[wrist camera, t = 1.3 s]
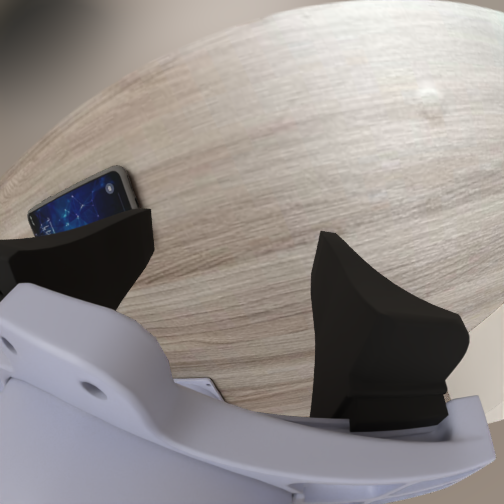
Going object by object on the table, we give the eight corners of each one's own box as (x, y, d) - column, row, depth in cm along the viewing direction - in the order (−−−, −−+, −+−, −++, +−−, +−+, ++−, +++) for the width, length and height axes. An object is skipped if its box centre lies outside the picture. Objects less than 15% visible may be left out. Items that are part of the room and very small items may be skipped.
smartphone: (150, 245, 22) (49, 271, 26) (154, 240, 23) (54, 267, 26) (119, 161, 19) (23, 212, 23) (125, 159, 20) (29, 209, 23)
